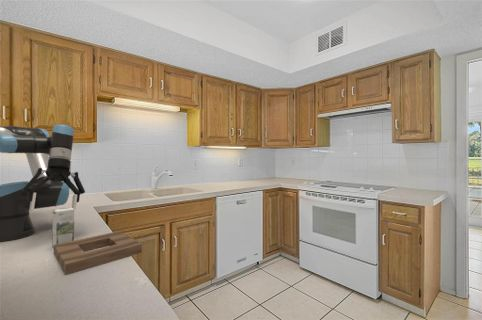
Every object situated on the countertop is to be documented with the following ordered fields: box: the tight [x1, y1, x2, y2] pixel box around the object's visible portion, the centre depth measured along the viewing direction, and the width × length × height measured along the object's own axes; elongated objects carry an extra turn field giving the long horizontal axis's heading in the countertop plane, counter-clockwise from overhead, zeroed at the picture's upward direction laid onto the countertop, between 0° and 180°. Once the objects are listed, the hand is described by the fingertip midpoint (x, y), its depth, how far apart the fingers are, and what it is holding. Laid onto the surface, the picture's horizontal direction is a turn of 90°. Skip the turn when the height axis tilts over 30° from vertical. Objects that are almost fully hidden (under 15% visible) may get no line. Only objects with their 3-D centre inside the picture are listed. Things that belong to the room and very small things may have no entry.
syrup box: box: [51, 206, 75, 248], centre depth 89 cm, size 6×6×14 cm
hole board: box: [53, 230, 143, 275], centre depth 82 cm, size 22×22×3 cm
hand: (53, 210), depth 93 cm, fingers open, 13 cm apart
